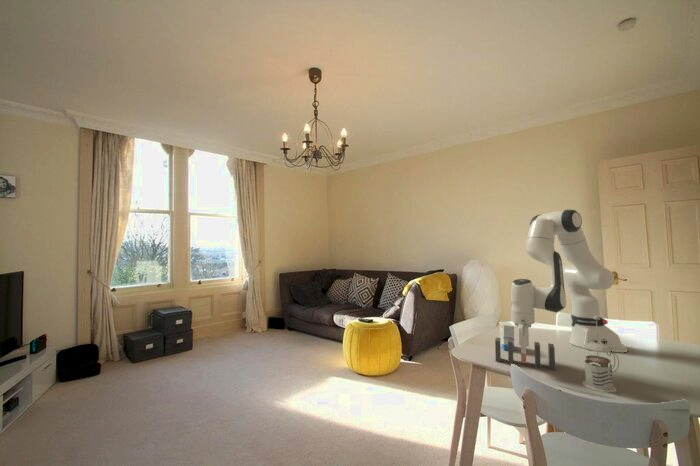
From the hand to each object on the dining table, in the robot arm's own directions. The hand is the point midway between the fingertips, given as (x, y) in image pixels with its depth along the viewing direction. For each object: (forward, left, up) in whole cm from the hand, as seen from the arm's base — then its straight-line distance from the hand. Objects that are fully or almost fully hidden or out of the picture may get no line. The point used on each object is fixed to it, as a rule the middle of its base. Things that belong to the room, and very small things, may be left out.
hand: (523, 350), depth 136 cm
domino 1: (+10, 0, -6) cm, 11 cm away
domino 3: (0, 0, -4) cm, 4 cm away
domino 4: (-5, 0, -6) cm, 8 cm away
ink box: (+7, -19, -6) cm, 21 cm away
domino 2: (+5, 0, -6) cm, 7 cm away
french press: (-24, +12, -6) cm, 28 cm away
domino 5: (-10, 0, -6) cm, 12 cm away
